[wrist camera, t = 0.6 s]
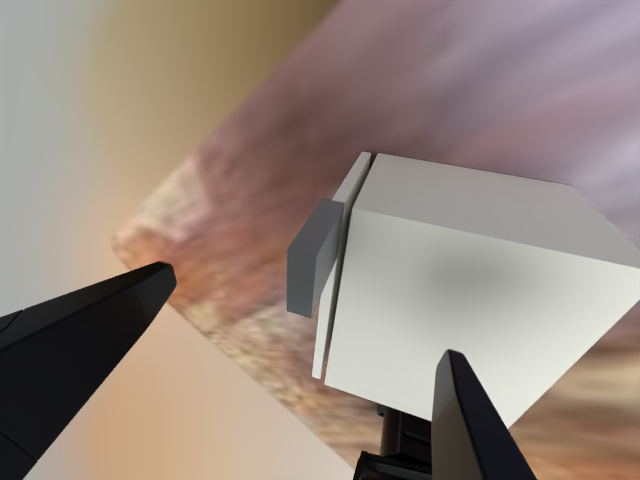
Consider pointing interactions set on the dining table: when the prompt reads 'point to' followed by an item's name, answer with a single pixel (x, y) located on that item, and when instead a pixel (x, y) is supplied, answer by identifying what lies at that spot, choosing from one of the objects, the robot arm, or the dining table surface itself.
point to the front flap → (323, 259)
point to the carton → (472, 284)
